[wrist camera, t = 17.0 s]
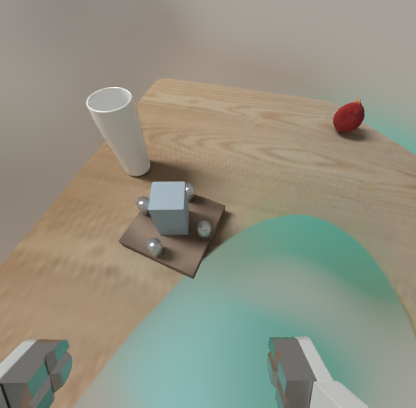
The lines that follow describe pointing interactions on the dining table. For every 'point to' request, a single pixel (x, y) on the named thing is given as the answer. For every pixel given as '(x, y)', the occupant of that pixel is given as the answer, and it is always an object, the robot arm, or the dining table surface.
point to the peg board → (175, 244)
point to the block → (169, 208)
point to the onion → (349, 117)
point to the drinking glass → (120, 127)
